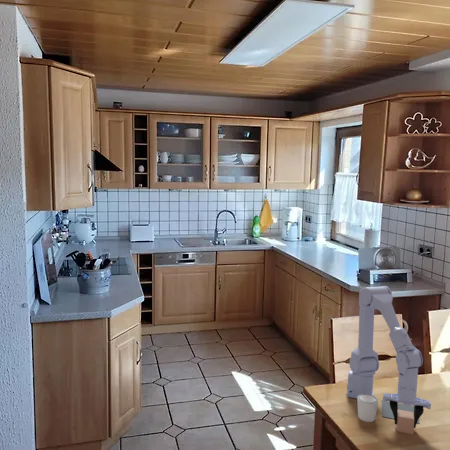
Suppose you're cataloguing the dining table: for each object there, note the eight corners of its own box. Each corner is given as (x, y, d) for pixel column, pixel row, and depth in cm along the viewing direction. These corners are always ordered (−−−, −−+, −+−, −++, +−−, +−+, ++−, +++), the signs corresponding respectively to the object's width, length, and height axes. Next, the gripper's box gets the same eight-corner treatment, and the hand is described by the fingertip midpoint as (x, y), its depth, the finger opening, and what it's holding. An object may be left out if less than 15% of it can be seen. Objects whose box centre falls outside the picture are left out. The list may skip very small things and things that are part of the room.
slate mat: (382, 416, 151) (382, 416, 151) (381, 400, 162) (381, 400, 162) (419, 423, 147) (419, 423, 147) (416, 407, 158) (416, 406, 158)
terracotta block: (396, 431, 142) (397, 416, 142) (396, 423, 147) (397, 409, 146) (413, 434, 140) (414, 419, 140) (412, 426, 145) (413, 412, 145)
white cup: (376, 424, 146) (377, 404, 145) (355, 420, 148) (356, 401, 147) (377, 414, 152) (378, 395, 151) (356, 410, 154) (357, 392, 154)
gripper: (384, 387, 141) (381, 426, 142) (433, 395, 136) (430, 435, 137) (383, 377, 147) (381, 415, 149) (430, 385, 143) (427, 424, 144)
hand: (404, 424), depth 143 cm, fingers closed on terracotta block, 5 cm apart
